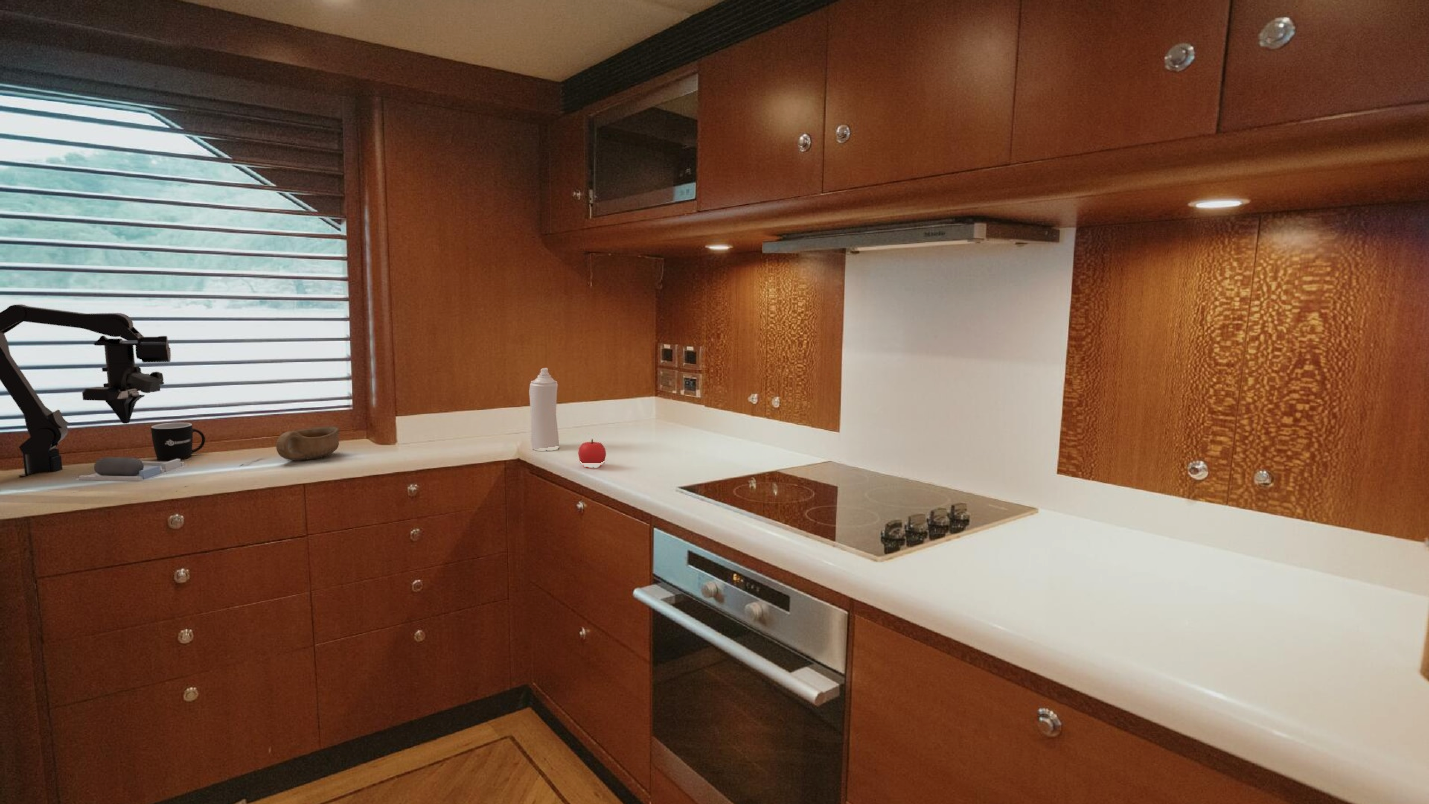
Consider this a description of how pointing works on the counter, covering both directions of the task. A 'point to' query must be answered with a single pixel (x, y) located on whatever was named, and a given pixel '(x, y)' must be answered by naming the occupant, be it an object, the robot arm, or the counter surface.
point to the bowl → (308, 443)
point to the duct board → (147, 473)
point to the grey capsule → (118, 466)
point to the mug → (174, 441)
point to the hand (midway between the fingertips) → (125, 423)
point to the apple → (592, 452)
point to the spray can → (543, 411)
